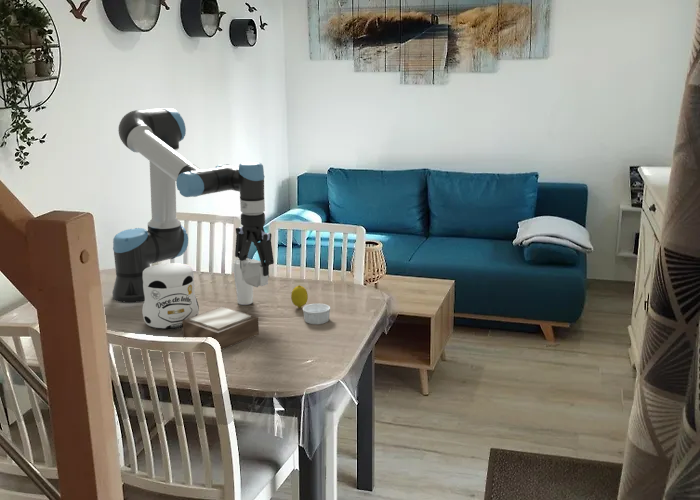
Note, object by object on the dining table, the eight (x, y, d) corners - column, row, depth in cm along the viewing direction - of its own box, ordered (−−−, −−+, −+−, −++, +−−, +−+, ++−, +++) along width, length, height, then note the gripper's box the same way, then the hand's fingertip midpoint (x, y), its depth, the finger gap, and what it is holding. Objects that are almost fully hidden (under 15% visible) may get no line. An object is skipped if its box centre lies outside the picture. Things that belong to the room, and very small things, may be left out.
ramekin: (299, 324, 229) (298, 311, 228) (308, 314, 237) (307, 302, 236) (325, 326, 227) (325, 313, 225) (333, 316, 235) (333, 304, 234)
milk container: (174, 338, 218) (170, 281, 213) (131, 328, 226) (126, 273, 221) (210, 319, 232) (207, 266, 228) (169, 311, 240) (165, 259, 235)
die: (248, 280, 236) (233, 262, 229) (271, 268, 235) (257, 249, 229) (253, 297, 230) (238, 278, 223) (276, 283, 229) (262, 265, 223)
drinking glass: (251, 307, 244) (249, 264, 240) (232, 305, 245) (230, 263, 241) (257, 300, 250) (256, 258, 246) (239, 299, 251) (237, 257, 247)
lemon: (310, 306, 244) (310, 284, 242) (303, 311, 239) (302, 288, 237) (296, 304, 246) (295, 281, 244) (288, 309, 241) (287, 286, 239)
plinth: (183, 337, 218) (182, 319, 216) (223, 322, 230) (222, 304, 228) (218, 350, 208) (217, 331, 207) (258, 334, 220) (258, 315, 219)
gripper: (221, 209, 227) (224, 278, 233) (267, 219, 215) (269, 292, 221) (238, 205, 233) (241, 272, 239) (285, 215, 220) (286, 286, 227)
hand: (254, 282), depth 230 cm, fingers closed on die, 8 cm apart
